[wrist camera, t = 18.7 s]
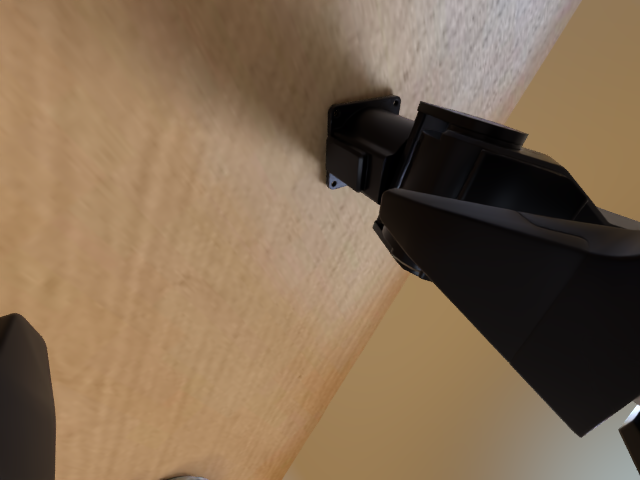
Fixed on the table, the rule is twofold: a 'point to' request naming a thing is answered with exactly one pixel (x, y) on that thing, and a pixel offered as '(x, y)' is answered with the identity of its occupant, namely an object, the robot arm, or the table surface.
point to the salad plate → (188, 478)
